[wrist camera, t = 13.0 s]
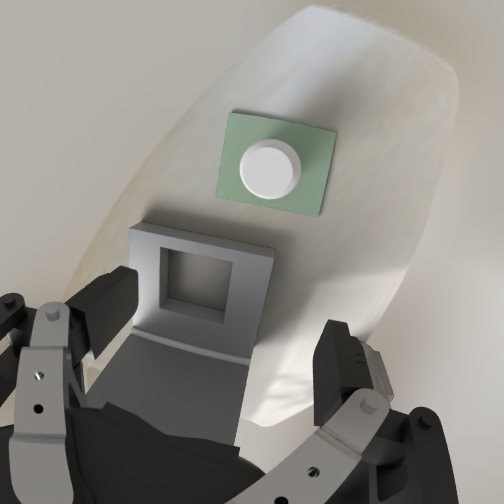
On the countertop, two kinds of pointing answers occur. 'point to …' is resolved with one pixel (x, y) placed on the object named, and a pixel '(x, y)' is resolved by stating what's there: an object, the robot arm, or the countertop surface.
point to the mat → (296, 135)
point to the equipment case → (187, 339)
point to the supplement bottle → (270, 168)
